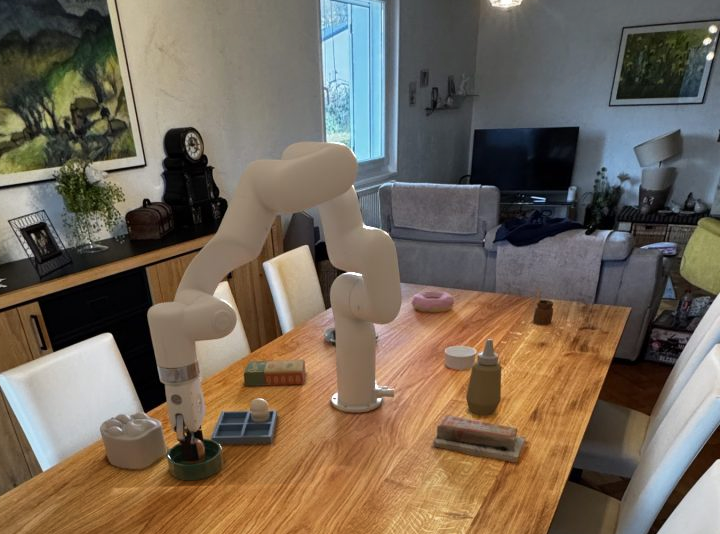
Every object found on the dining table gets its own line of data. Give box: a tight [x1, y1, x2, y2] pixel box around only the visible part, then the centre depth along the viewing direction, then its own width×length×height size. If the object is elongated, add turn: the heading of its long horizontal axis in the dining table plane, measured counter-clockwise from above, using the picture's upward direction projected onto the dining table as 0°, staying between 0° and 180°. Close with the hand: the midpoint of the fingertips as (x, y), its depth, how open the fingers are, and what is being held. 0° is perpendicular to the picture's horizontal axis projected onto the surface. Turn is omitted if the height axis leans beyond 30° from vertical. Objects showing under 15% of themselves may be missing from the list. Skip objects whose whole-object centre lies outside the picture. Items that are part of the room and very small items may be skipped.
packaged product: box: [432, 415, 526, 464], centre depth 123 cm, size 18×5×10 cm
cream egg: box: [249, 397, 270, 423], centre depth 134 cm, size 4×4×6 cm
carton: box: [243, 359, 306, 387], centre depth 157 cm, size 8×16×4 cm, turn 89°
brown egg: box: [185, 438, 205, 464], centre depth 117 cm, size 4×4×6 cm
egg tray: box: [210, 409, 278, 445], centre depth 132 cm, size 13×13×2 cm
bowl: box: [165, 438, 225, 481], centre depth 118 cm, size 11×11×4 cm
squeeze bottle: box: [465, 338, 502, 417], centre depth 133 cm, size 8×8×18 cm
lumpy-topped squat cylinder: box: [99, 411, 168, 470], centre depth 122 cm, size 10×13×9 cm
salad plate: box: [323, 326, 379, 347], centre depth 185 cm, size 19×18×5 cm
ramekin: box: [444, 345, 478, 371], centre depth 162 cm, size 9×9×4 cm
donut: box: [410, 290, 455, 314], centre depth 210 cm, size 16×15×5 cm
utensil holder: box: [532, 286, 557, 326], centre depth 190 cm, size 6×6×12 cm
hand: (194, 452), depth 117 cm, fingers closed on brown egg, 4 cm apart
